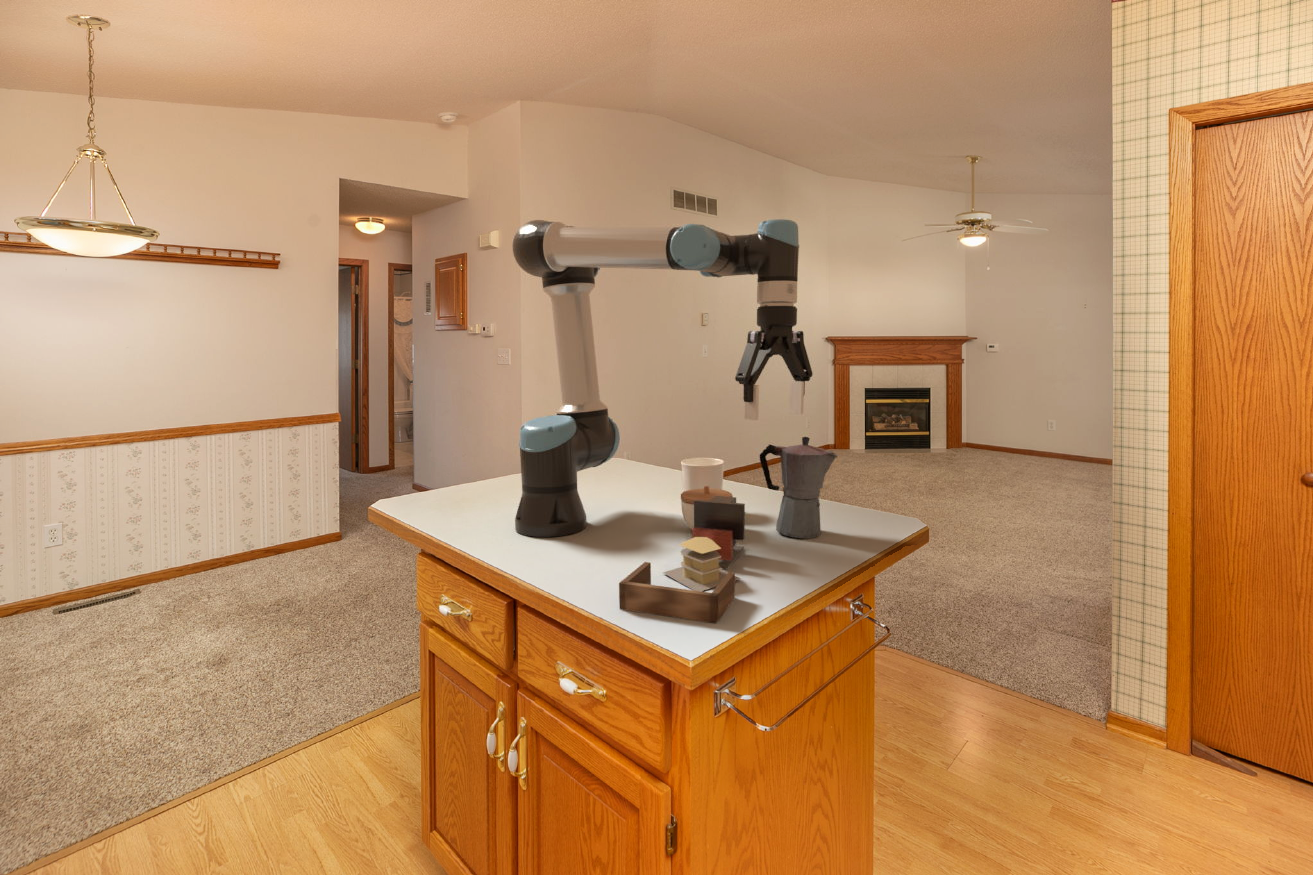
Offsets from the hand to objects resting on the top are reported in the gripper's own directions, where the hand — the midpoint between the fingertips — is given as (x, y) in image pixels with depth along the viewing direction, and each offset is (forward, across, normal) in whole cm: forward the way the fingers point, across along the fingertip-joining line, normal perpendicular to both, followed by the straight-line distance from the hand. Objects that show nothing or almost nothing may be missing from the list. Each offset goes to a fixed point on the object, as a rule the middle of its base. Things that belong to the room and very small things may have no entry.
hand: (774, 416), depth 129 cm
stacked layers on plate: (+24, -26, -6) cm, 36 cm away
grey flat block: (+24, -16, -1) cm, 29 cm away
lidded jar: (+25, -6, +13) cm, 28 cm away
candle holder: (+25, +3, +23) cm, 34 cm away
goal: (+24, -36, -12) cm, 45 cm away
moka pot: (+25, +6, -1) cm, 25 cm away
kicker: (+23, -17, -2) cm, 29 cm away
